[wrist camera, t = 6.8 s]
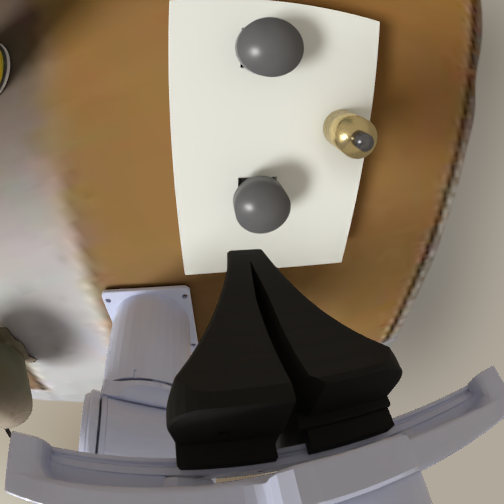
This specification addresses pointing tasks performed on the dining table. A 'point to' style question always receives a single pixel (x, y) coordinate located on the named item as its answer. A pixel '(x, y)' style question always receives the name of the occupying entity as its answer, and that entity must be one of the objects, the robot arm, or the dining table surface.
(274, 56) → the knob
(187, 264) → the mount block
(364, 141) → the gold domed cylinder
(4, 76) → the supplement bottle
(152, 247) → the dining table surface
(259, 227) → the knob
